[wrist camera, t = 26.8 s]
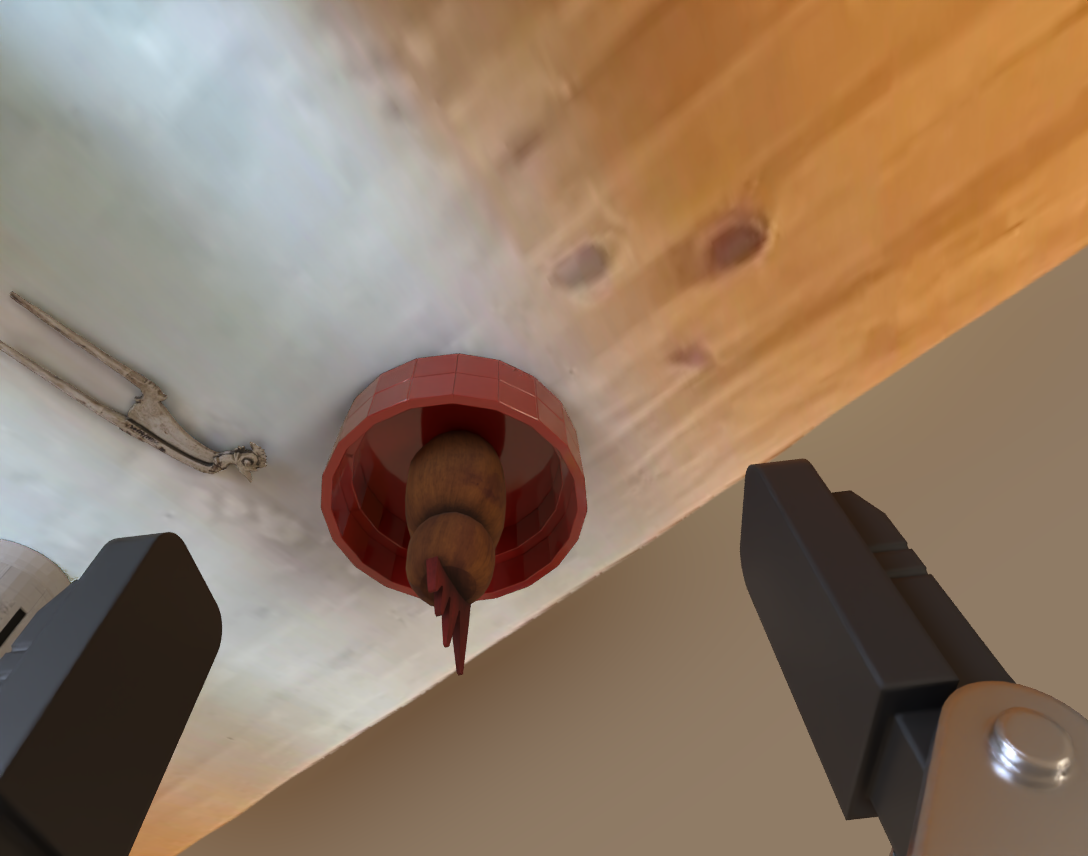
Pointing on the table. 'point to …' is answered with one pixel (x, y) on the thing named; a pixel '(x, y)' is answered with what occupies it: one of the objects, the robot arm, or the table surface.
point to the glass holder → (24, 588)
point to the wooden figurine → (454, 527)
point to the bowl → (438, 407)
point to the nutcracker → (143, 410)
